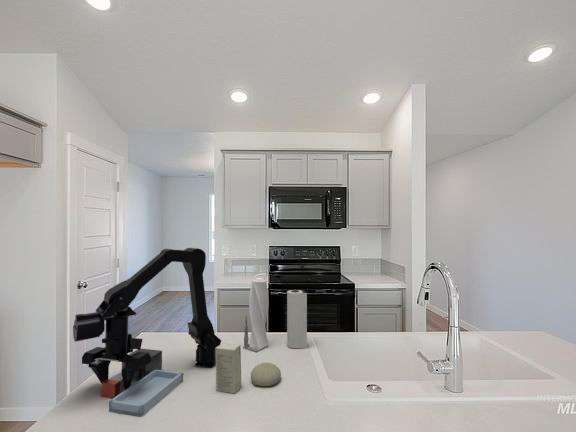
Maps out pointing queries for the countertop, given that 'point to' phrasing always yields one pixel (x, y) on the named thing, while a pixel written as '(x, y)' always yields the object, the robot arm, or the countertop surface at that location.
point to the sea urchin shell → (265, 374)
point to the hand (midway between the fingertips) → (116, 388)
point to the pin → (117, 385)
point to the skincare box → (228, 367)
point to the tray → (145, 393)
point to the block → (154, 364)
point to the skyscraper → (257, 315)
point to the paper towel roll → (296, 319)
